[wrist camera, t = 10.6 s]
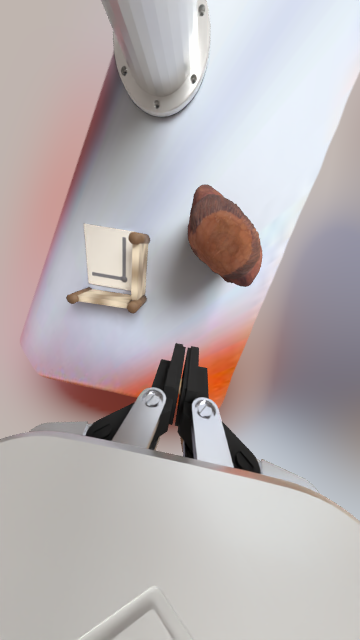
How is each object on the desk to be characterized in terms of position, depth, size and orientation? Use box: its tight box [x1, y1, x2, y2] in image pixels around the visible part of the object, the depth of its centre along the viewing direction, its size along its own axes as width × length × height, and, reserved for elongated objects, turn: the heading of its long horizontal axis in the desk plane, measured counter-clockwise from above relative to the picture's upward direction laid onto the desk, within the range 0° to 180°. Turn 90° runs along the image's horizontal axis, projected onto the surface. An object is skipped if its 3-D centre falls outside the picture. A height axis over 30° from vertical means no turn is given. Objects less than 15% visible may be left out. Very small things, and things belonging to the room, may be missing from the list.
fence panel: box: [66, 287, 133, 309], centre depth 35 cm, size 12×2×6 cm, turn 83°
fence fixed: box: [127, 232, 150, 313], centre depth 32 cm, size 14×2×6 cm, turn 172°
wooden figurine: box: [188, 185, 262, 287], centre depth 23 cm, size 12×6×18 cm, turn 47°
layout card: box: [84, 224, 133, 291], centre depth 35 cm, size 12×10×1 cm
